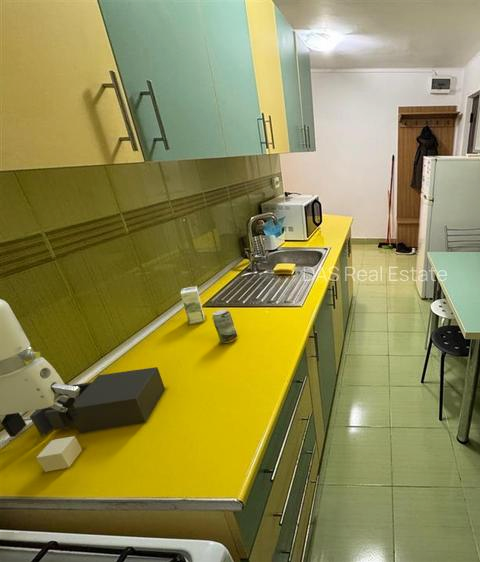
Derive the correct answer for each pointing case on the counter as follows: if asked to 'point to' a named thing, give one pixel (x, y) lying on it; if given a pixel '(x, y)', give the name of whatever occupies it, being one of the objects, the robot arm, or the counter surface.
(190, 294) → the syrup box
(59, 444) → the block
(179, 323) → the counter surface
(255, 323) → the counter surface
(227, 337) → the beverage can
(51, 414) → the dark grey drawer
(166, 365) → the counter surface
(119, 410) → the dark grey drawer box
